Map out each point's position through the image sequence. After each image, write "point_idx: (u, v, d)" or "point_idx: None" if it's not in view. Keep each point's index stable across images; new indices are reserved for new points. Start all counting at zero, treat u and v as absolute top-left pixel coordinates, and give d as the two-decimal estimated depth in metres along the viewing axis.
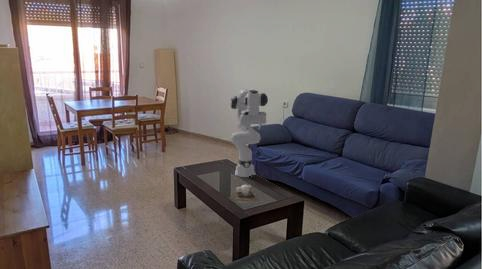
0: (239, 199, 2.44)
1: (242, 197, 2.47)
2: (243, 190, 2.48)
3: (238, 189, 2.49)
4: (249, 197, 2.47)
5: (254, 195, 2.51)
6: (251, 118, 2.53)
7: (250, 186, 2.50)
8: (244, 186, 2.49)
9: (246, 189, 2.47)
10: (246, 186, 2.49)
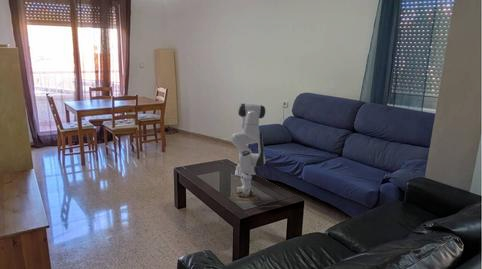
0: (239, 199, 2.44)
1: (242, 197, 2.47)
2: (244, 190, 2.48)
3: (239, 189, 2.49)
4: (249, 197, 2.47)
5: (254, 195, 2.51)
6: None
7: (251, 186, 2.50)
8: None
9: None
10: None
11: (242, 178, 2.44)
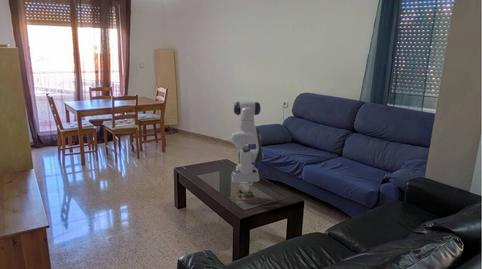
0: (239, 199, 2.44)
1: (242, 197, 2.47)
2: (248, 186, 2.49)
3: None
4: (249, 197, 2.47)
5: (254, 195, 2.51)
6: None
7: None
8: (246, 182, 2.49)
9: None
10: (246, 182, 2.51)
11: (251, 173, 2.46)
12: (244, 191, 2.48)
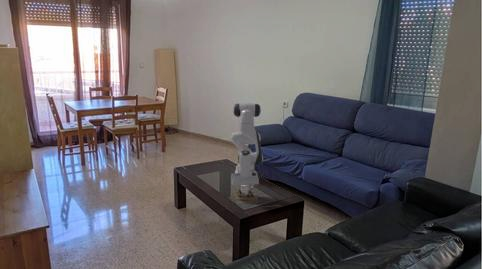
0: (239, 199, 2.44)
1: (242, 197, 2.47)
2: (248, 189, 2.50)
3: None
4: (249, 197, 2.47)
5: (254, 195, 2.51)
6: None
7: None
8: (245, 186, 2.50)
9: None
10: (245, 185, 2.51)
11: (251, 176, 2.46)
12: (244, 194, 2.49)
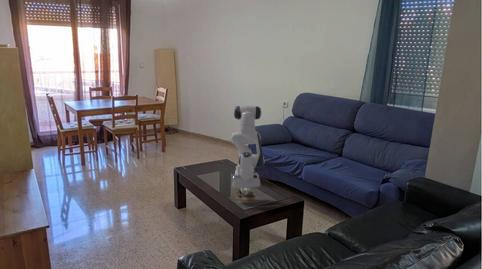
0: (239, 199, 2.44)
1: (242, 197, 2.47)
2: None
3: None
4: (249, 197, 2.47)
5: (254, 195, 2.51)
6: None
7: None
8: None
9: None
10: None
11: (252, 179, 2.42)
12: (243, 194, 2.50)
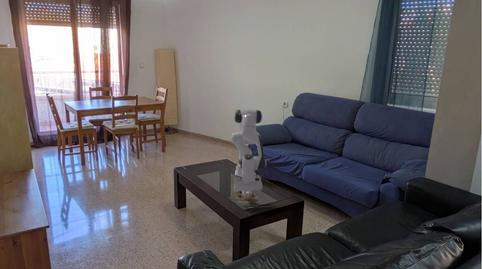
0: (239, 199, 2.44)
1: None
2: (249, 192, 2.44)
3: None
4: None
5: (254, 195, 2.51)
6: None
7: None
8: None
9: None
10: None
11: (254, 181, 2.35)
12: (245, 197, 2.44)
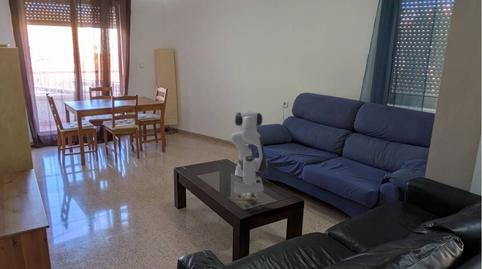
0: (239, 199, 2.44)
1: None
2: (250, 193, 2.42)
3: None
4: None
5: None
6: None
7: None
8: None
9: None
10: None
11: (255, 184, 2.32)
12: (245, 199, 2.41)
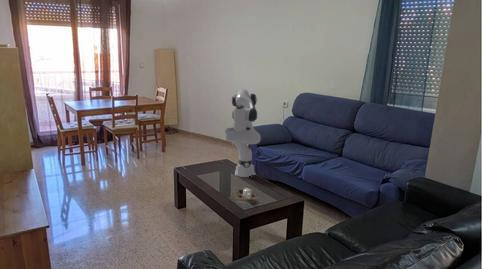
0: (239, 199, 2.44)
1: (242, 197, 2.47)
2: (250, 193, 2.42)
3: None
4: None
5: (254, 195, 2.51)
6: None
7: (247, 188, 2.47)
8: (248, 190, 2.42)
9: None
10: (247, 189, 2.44)
11: (245, 131, 2.46)
12: (246, 199, 2.41)
